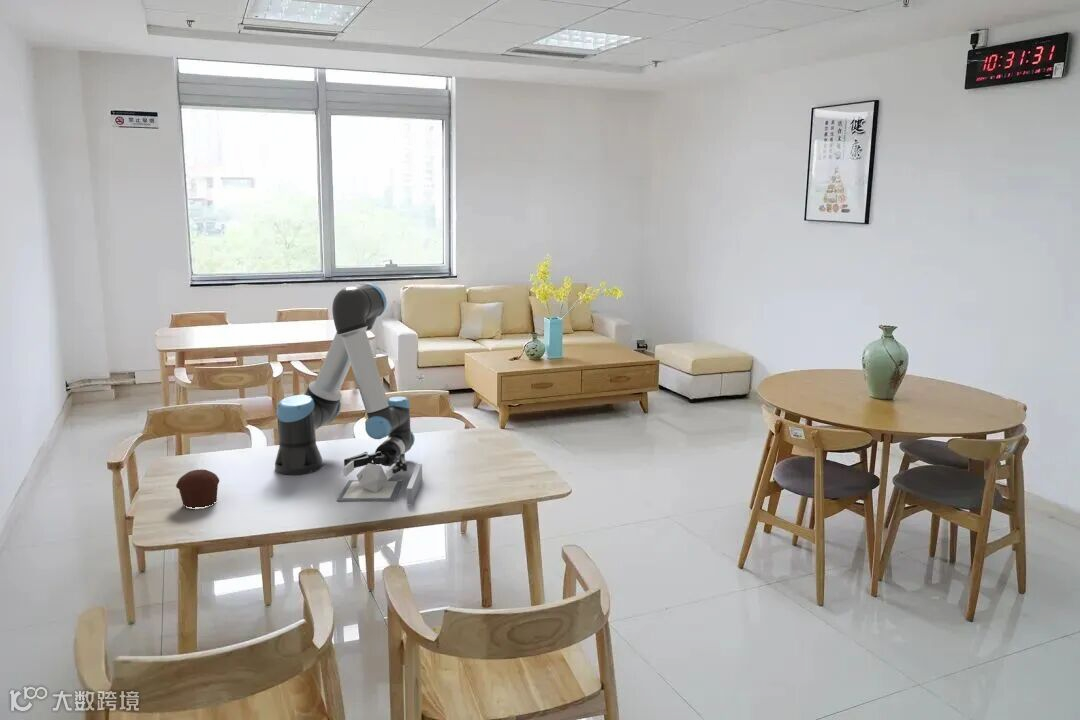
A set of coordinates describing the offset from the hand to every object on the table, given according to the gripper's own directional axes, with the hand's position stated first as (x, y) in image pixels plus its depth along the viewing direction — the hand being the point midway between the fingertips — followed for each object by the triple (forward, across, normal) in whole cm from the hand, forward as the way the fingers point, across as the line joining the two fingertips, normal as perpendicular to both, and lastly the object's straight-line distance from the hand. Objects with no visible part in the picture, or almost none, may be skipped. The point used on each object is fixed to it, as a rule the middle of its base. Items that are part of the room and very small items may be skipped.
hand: (365, 473), depth 239 cm
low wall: (-6, -13, -7) cm, 16 cm away
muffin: (+15, +46, -7) cm, 48 cm away
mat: (-3, 0, -7) cm, 8 cm away
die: (-3, -1, -6) cm, 7 cm away
